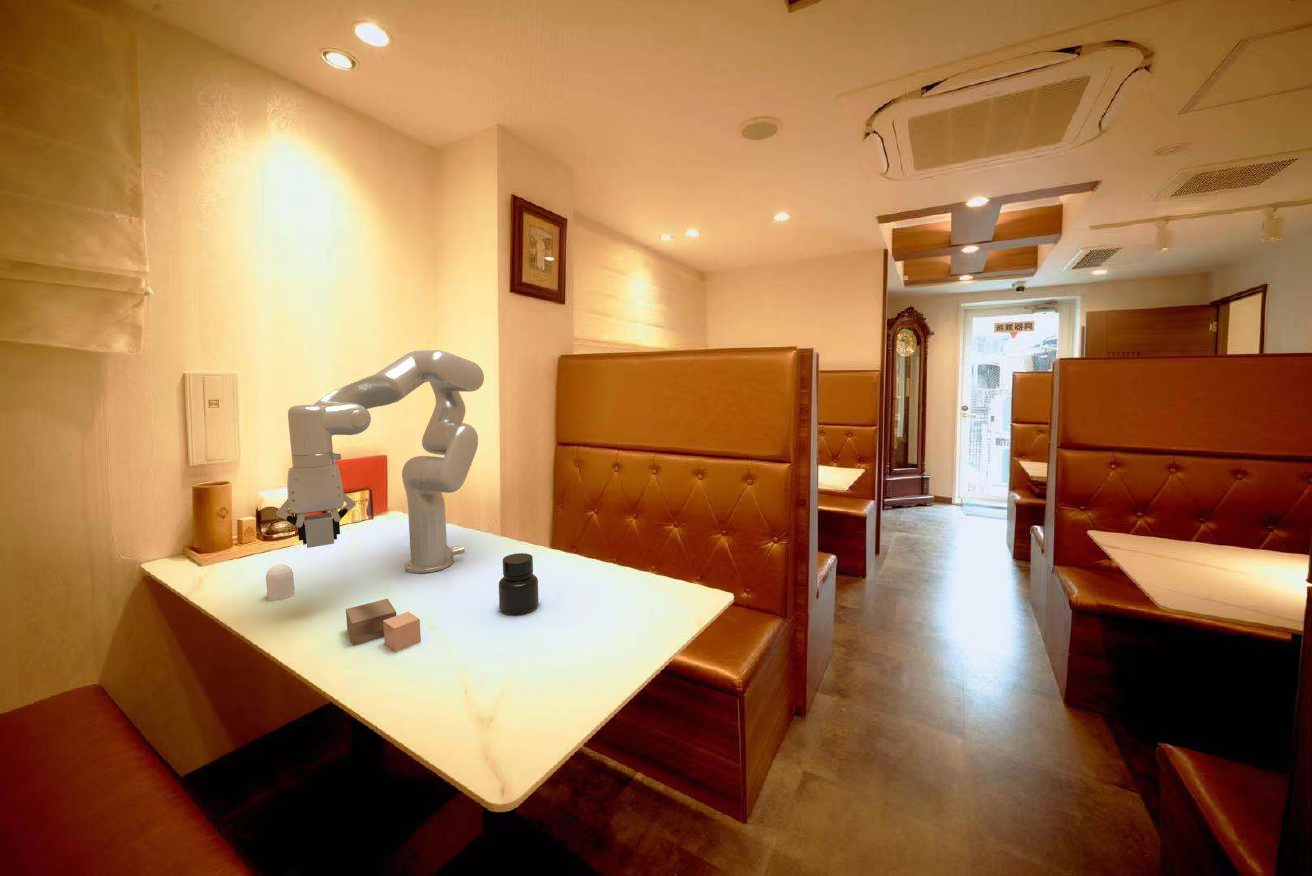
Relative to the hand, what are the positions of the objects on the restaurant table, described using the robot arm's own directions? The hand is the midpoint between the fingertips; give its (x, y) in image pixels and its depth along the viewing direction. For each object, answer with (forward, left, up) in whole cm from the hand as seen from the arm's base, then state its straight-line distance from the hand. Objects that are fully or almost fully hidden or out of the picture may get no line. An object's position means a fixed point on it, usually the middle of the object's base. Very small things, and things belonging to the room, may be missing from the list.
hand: (320, 539), depth 111 cm
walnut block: (-7, +16, -18) cm, 25 cm away
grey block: (0, 0, -1) cm, 1 cm away
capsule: (+8, -16, -18) cm, 25 cm away
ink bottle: (-37, +24, -18) cm, 47 cm away
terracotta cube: (-12, +25, -17) cm, 32 cm away
